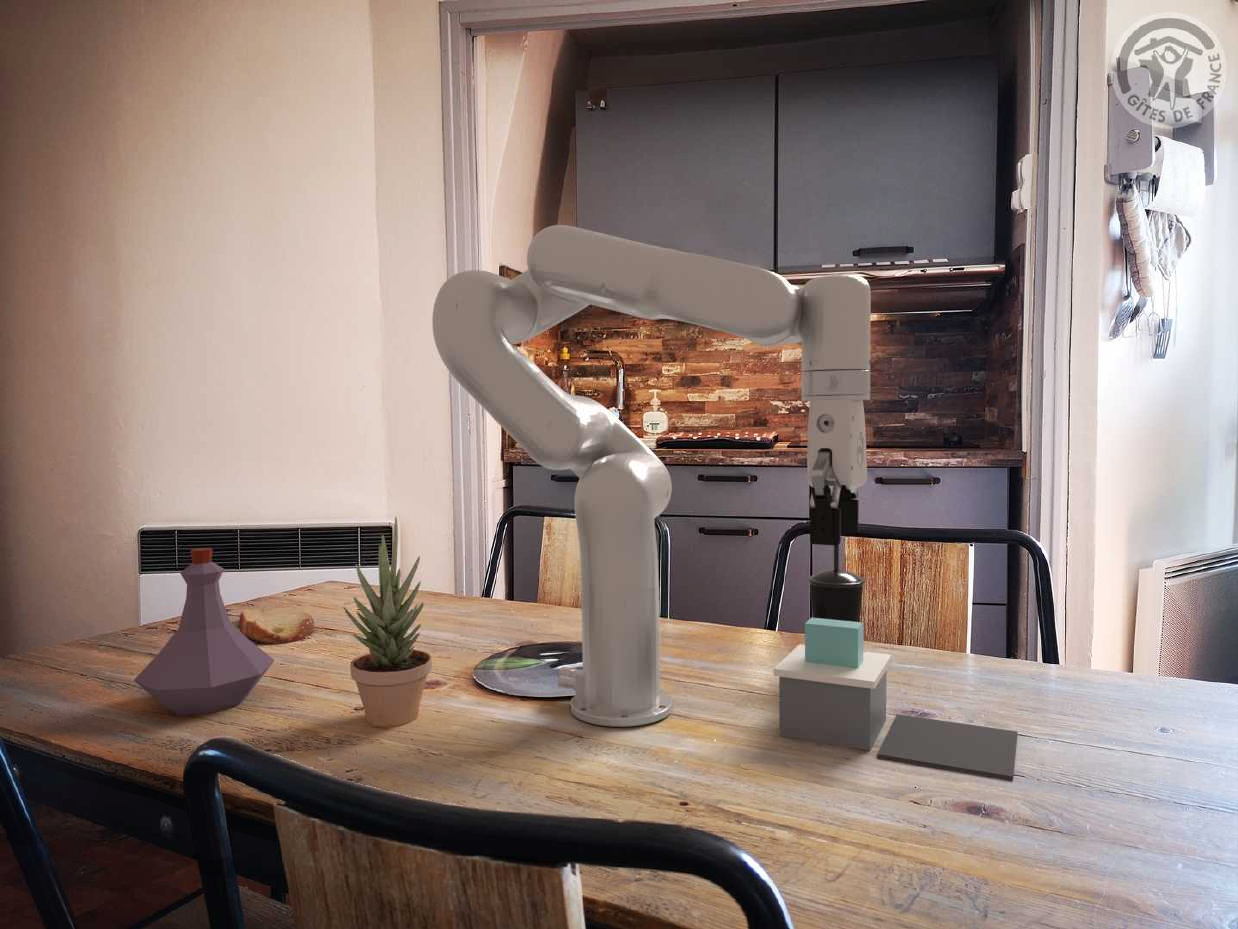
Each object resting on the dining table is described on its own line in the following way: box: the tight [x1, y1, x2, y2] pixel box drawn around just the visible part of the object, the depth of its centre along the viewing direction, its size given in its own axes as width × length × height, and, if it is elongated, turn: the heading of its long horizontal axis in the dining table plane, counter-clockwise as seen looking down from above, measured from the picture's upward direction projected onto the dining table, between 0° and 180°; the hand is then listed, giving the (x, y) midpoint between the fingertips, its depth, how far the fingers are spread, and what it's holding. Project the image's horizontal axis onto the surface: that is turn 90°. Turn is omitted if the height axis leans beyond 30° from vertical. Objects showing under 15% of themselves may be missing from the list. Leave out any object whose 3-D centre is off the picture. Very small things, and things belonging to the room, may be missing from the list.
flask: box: [133, 547, 275, 716], centre depth 109 cm, size 16×16×20 cm
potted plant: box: [342, 516, 433, 728], centre depth 102 cm, size 10×10×25 cm
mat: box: [876, 713, 1018, 781], centre depth 92 cm, size 13×13×1 cm
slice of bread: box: [238, 608, 316, 645], centre depth 146 cm, size 18×18×4 cm
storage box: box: [778, 670, 887, 752], centre depth 98 cm, size 10×10×7 cm
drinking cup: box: [807, 544, 866, 622], centre depth 116 cm, size 8×8×20 cm
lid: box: [773, 617, 893, 689], centre depth 97 cm, size 11×11×6 cm
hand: (835, 538), depth 96 cm, fingers open, 9 cm apart
